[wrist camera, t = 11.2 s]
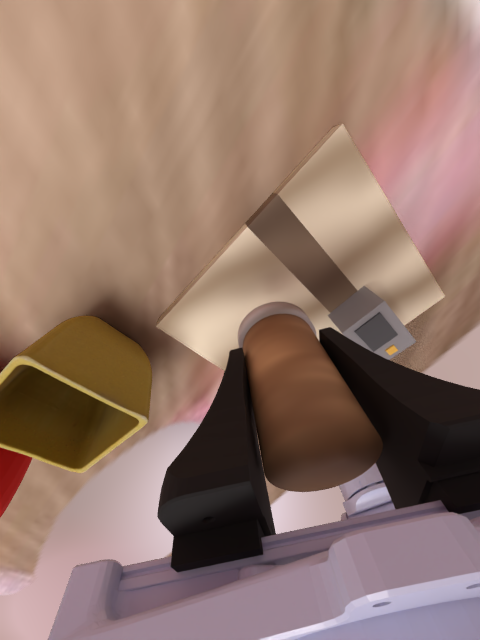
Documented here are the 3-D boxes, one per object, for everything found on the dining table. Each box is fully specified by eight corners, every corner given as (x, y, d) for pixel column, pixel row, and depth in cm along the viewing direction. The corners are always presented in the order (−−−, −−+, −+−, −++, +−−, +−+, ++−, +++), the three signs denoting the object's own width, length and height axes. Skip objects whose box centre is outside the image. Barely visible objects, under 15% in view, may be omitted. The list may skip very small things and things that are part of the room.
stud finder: (394, 323, 24) (417, 342, 21) (359, 348, 25) (377, 369, 22) (364, 285, 21) (385, 301, 19) (327, 315, 23) (342, 334, 20)
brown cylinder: (310, 294, 13) (400, 406, 7) (310, 355, 16) (378, 481, 9) (231, 309, 13) (249, 435, 7) (243, 368, 16) (265, 503, 9)
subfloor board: (432, 289, 24) (445, 296, 23) (281, 400, 30) (284, 410, 29) (332, 127, 17) (342, 123, 15) (158, 318, 23) (155, 326, 21)
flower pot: (170, 345, 25) (151, 423, 17) (117, 390, 27) (80, 477, 19) (89, 287, 21) (16, 353, 13) (36, 346, 23) (-52, 431, 15)
